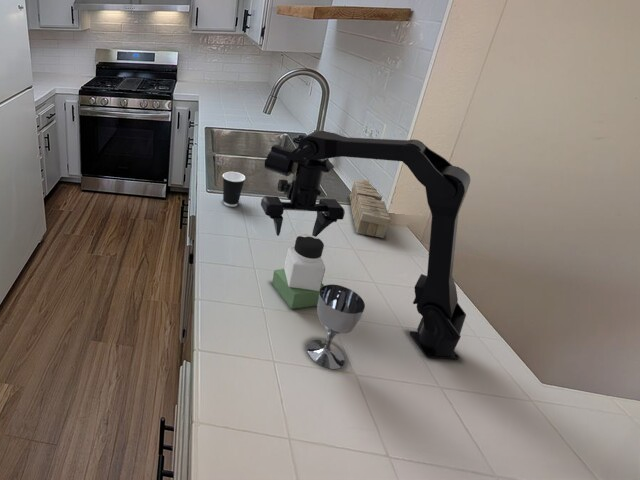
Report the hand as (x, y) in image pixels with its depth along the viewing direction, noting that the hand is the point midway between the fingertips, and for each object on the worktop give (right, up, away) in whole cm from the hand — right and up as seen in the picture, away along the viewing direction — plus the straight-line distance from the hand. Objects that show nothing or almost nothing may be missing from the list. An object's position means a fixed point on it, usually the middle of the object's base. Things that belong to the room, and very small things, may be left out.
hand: (295, 235), depth 100 cm
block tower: (+38, 0, +33) cm, 51 cm away
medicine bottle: (0, -10, -4) cm, 11 cm away
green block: (-1, -14, -2) cm, 14 cm away
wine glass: (-2, -21, -19) cm, 29 cm away
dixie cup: (-6, +4, +41) cm, 41 cm away
